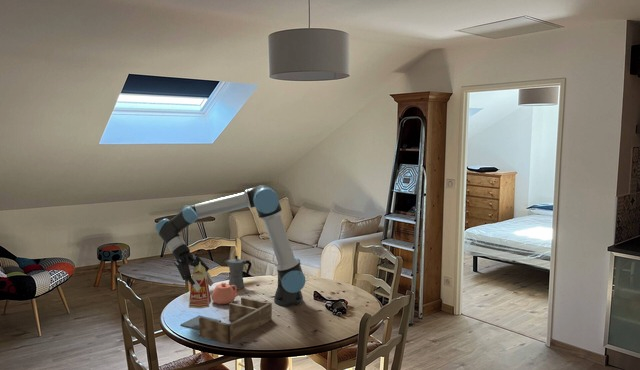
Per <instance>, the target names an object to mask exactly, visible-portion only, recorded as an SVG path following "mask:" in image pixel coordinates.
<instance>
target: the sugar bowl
mask: <svg viewBox="0 0 640 370" xmlns="http://www.w3.org/2000/svg"><path fill="white" fill-rule="evenodd" d="M232 287H235V289H233V288H232ZM237 290H238V289H237V287H236V286H235V285H231V286H230V285H229V283H227V282H221V283H220V284H217V285H216V286H215V287H214V289H213V291H212V293H211V296H210V297H211V301H212V302H213V303H214V304H217V305H219V306H221V305H226V304H227V305H229V304H230V303H233V302H234V301H235V300H236V297H238V295H239V293H238V291H237Z"/></svg>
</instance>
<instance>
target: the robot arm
mask: <svg viewBox="0 0 640 370" xmlns="http://www.w3.org/2000/svg"><path fill="white" fill-rule="evenodd" d="M247 207H248V208H250V209H253V208H255V210H256V213H257V216H258V218H259V219H261V220H262V221H263V224H264V226H265V229H266V233H267V234H268V235H267V236H268V238H269V241H270V244H271V247H272V250H273V252H274V255H275V259H276V261H277V266H276V271H277V287H276V290H275V294H274V299H273V302H274V303H275V304H276V305H279V306H282V307H283V306H284V307H293V306H292V305H295V306H299V305H301V304H302V303H303V302H304V297H303V293H302V289H304V287H305V286H306V285H305V284H306V275H305V274H304V273H303V269H302V266H301V259H300V258H297V257H295V255H294V252H293V249H292V246H291V244H290V239H289V237H288V234H287V231H286V228H285V225H284V223H283V222H284V221H283V219H282V215H281V212H282V211H283V210H282V207H281V203H280V199H279V195H278V193H277V192H276V190H275V189H274V188H273V187H272V186H270V185H267V184H260V185H257V186H254V187H251V188H246V189H245V190H244V192H239V193H237V194H236V193H235V194H232V195H227V196H223V197H218V198H215V199H211V200H207V201H203V202H199V203H196V204H191V205H184V206H182V207H180V209H178V213H177V214H176V215H175V216H174V217H173V218H171V219H168V218H163V219H161V220H159V221H158V222H157V223H156V224H155V230H156V231H157V234H158V236H159V237H160V238H161V240H162V241H163V242H164V244H165V246H166V247H167V248H168V249H169V251H170V252H171V254H172V256H173V257H174V258H175V259H176V260H175V261H174V265H175V266H176V268H177V270H178V272H179V273H180V277H181V278H182V280H183V281H186V282H189V284H190V286H191V285H192V286H193V287H194V289H195V290H196V291H197V292H198V291H199V290H200V289H201V287H200V285H199V284H198V283H197V281H196V280H195V278H194V277H192V273H191V269H190V266H191V267H193V268H194V267H196V266H198V265H199V262H201V265H202V266H204V267H205V270H206V274H207V278H208V284H209V287H212V286H213V285H214V284H215V281H214V279H213V278H212V276H211V275H210V273H209V272H208V271H209V269H210V267H209V266H207V264H206V263H205V262H204V261H203V260H202V259H201V258H200V256H199V254H198V253H194V254H192V253H191V249H190V248H189V246H188V244H186V242H185V241H184V239H183V237H181V235H180V233H182V231H184V230H185V229H187V228H188V227H189V226H190V225H192V224H194V223H195V222H196V221H197V220H199V219H203V218H208V217H211V216H216V215H220V214H223V213H228V212H231V211H235V210H240V209H244V208H247ZM300 303H301V304H300ZM298 304H299V305H298Z"/></svg>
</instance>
